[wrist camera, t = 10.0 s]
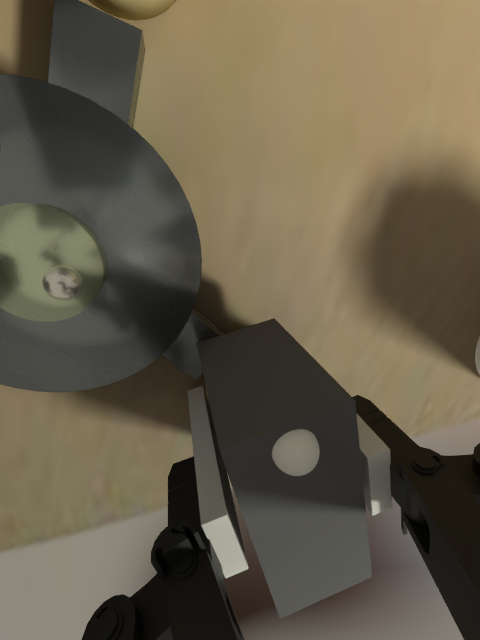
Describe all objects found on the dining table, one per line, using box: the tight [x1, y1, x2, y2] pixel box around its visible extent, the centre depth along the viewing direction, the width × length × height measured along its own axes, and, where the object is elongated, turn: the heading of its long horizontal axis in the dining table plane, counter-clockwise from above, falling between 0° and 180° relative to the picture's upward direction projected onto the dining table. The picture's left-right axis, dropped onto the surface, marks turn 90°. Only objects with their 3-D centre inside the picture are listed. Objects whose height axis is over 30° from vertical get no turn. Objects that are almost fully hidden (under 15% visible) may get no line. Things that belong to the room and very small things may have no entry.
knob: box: [197, 319, 372, 618], centre depth 12 cm, size 4×8×9 cm, turn 13°
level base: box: [0, 0, 225, 392], centre depth 9 cm, size 14×12×5 cm
